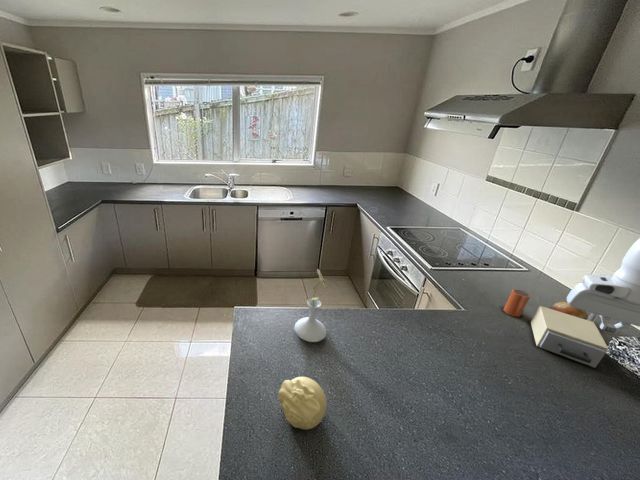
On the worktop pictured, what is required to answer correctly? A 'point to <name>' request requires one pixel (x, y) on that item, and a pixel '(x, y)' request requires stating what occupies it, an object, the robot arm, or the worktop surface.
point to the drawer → (572, 348)
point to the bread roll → (570, 310)
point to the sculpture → (302, 402)
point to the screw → (592, 317)
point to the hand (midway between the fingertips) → (607, 330)
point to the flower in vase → (312, 319)
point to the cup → (516, 302)
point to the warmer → (565, 328)
